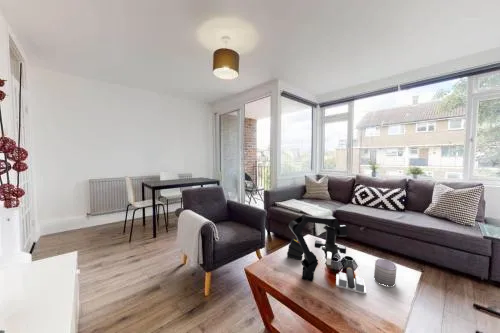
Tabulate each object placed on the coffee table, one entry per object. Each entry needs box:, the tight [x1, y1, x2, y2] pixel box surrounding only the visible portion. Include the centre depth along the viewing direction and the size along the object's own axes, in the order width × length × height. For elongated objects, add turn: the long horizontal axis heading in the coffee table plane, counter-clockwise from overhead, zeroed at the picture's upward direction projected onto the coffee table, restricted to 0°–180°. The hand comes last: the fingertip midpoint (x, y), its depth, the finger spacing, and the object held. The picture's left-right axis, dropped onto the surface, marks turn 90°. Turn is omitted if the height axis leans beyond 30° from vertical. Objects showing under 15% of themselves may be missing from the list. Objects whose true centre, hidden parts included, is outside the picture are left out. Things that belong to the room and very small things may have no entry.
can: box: [373, 258, 398, 286], centre depth 128 cm, size 11×11×12 cm
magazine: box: [286, 237, 304, 261], centre depth 152 cm, size 4×13×15 cm, turn 73°
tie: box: [326, 252, 332, 266], centre depth 131 cm, size 12×2×4 cm, turn 157°
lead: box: [346, 267, 355, 289], centre depth 126 cm, size 17×4×4 cm, turn 157°
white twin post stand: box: [335, 271, 368, 295], centre depth 124 cm, size 16×12×5 cm
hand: (329, 259), depth 131 cm, fingers closed on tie, 2 cm apart
